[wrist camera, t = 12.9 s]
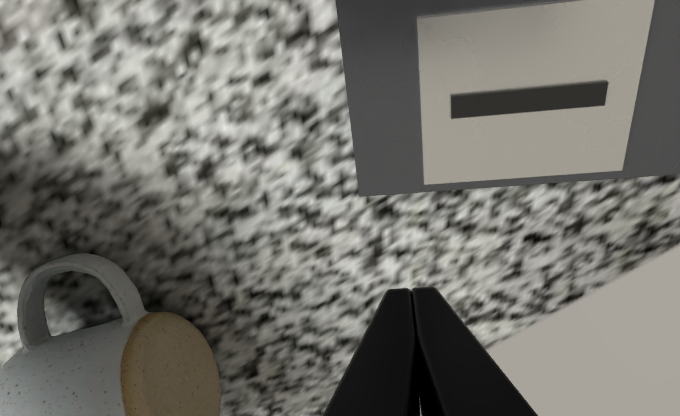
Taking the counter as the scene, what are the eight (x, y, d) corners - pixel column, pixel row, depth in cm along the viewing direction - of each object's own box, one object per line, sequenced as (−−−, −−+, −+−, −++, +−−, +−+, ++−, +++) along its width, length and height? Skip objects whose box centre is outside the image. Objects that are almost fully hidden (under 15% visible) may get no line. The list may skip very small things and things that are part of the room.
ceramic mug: (244, 369, 28) (202, 511, 22) (128, 401, 31) (58, 539, 24) (129, 220, 24) (31, 345, 17) (1, 271, 26) (-128, 399, 19)
